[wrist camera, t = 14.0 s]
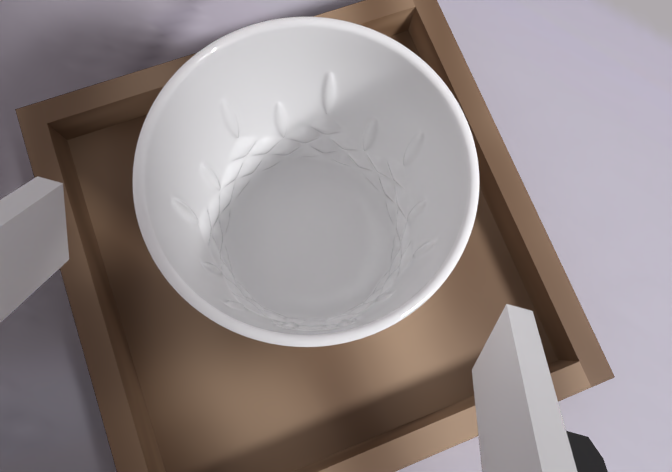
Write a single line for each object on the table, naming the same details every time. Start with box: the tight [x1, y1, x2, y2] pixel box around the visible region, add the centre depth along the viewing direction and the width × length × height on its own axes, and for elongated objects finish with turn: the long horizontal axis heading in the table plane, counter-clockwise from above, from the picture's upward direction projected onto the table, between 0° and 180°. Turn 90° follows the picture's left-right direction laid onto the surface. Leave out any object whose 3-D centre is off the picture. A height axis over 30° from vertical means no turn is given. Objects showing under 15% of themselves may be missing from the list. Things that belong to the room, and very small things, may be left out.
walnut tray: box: [15, 0, 614, 472], centre depth 21 cm, size 18×18×2 cm
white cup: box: [133, 17, 479, 347], centre depth 16 cm, size 8×8×10 cm
